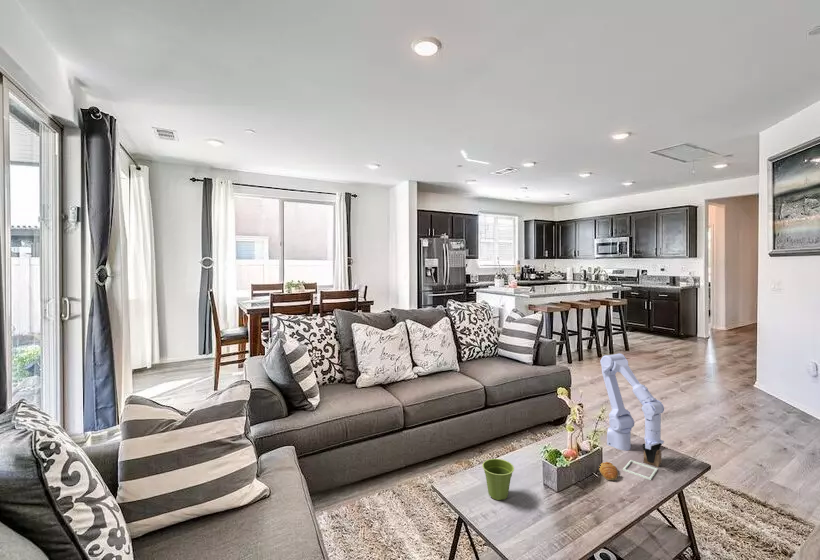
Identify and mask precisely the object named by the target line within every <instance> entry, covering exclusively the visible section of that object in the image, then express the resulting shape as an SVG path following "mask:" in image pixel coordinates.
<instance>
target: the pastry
mask: <svg viewBox="0 0 820 560" xmlns="http://www.w3.org/2000/svg"><path fill="white" fill-rule="evenodd" d="M600 465H601V466H600ZM600 465H599V467H600V468H598V471H599V473H600V474H601V476H602V477H603V478H604V479H606V480H607V481H616V480H617V479H618V475H619V473H618V469H617V467H616V466H615V465H614V464H613V463H611V462H608V461H604V462H601V464H600Z"/></svg>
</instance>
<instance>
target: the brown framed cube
mask: <svg viewBox="0 0 820 560" xmlns="http://www.w3.org/2000/svg"><path fill="white" fill-rule="evenodd" d="M662 456H663V455H662V450H657V452H656V454H655V460H654V463H650V462H648V461H647V457H646V453H645V451H644V450H643V461H644V463H643V464H646V463H647V464H646V465H649V464H650V465H649V466H652V465H653V466H652V467H655V466H657V467H656V468H658V466H659V465H660V464H661V462H662ZM661 465H662V464H661ZM661 465H660V466H661Z"/></svg>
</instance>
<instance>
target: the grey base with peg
mask: <svg viewBox="0 0 820 560" xmlns="http://www.w3.org/2000/svg"><path fill="white" fill-rule="evenodd" d="M662 463H663V461H661V464H660V465H659V466H658V467H657V466H653V465H650V464H647V463H644V460H643V461H642V464H645V465H648V466H651V467H654V468H660V466H661V465H662Z"/></svg>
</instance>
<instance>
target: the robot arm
mask: <svg viewBox="0 0 820 560" xmlns="http://www.w3.org/2000/svg"><path fill="white" fill-rule="evenodd" d="M599 363H600V366H601V374H602V375H601V376H602V378H603V381H604V384H605V385H604V386H605V389H606V393H607V396H608V400H609V404H610V407H611V410H610V411H609V413H608V417H609V418H608V419H609V421H608V423H609V426H608V428H607V432H606V445H607V446H609V447H611V448H614V449H616V450H620V451H629V450H631V449H632V448H631V447H632V446H631V442H632V441H631V435H632V434H631V432H632V428H634V427H635V420H634V418H633V417H632V414H631V412H630V410H628V409H626V408H625V405H624V400H623V397H622V393H621V390H620V386H619V383H618V380H617V376H616V374H617V373H620V374H621V375H622V376H623V377H624V379H625V380H626V381H627V382H628V383H629V384H630V386H631V388H632V393H633V394H634V397H636V398H637V400H638V401H639V403H640V404H641V405H642V406H641V411H642V412H643V417H644V437H643V439H644V442H645V443H642V446H641V447H642V449H643V452H644V451H645V453H646V457H647V461H648V462H650V463H654V460H655V454H656V452H657V450H660V449H661V446H662V445H663V444H665V441H664V440H662V438H661V431H662V429H661V428H662V424H661V423H662V422H661V421H662V419H661V418H662V417H661V415H662V414H663V413H664V411H665V407H664V404H663V402H661V400H659V399H656V397H654V396H653V394H651V391H650V390H649V388H648V387H647V386H646V385H644V384H643V383H642V384H641V382H640V381H639V380H638V378H637V377H636V375H635V374H634V372H633V371H632V369H631V367H630V366H629V360H628V359H627V358H626V357H625V355H624V354H623V353H614V354H608V355H607V354H605V355H603V356H602V357H601V359H600V361H599ZM660 451H661V450H660Z"/></svg>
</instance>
